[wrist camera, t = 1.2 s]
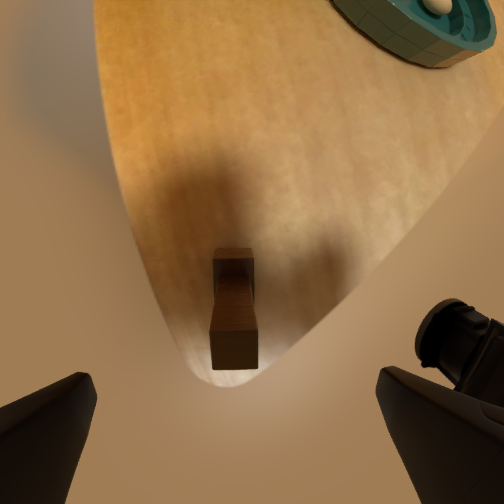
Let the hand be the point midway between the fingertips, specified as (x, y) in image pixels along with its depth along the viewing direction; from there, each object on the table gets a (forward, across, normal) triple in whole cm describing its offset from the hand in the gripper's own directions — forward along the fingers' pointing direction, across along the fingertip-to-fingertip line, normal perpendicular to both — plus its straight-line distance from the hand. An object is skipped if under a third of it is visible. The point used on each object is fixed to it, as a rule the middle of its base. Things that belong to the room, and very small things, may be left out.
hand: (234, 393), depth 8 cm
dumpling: (+11, -18, -25) cm, 33 cm away
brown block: (+13, 0, 0) cm, 13 cm away
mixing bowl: (+13, -15, -25) cm, 32 cm away
